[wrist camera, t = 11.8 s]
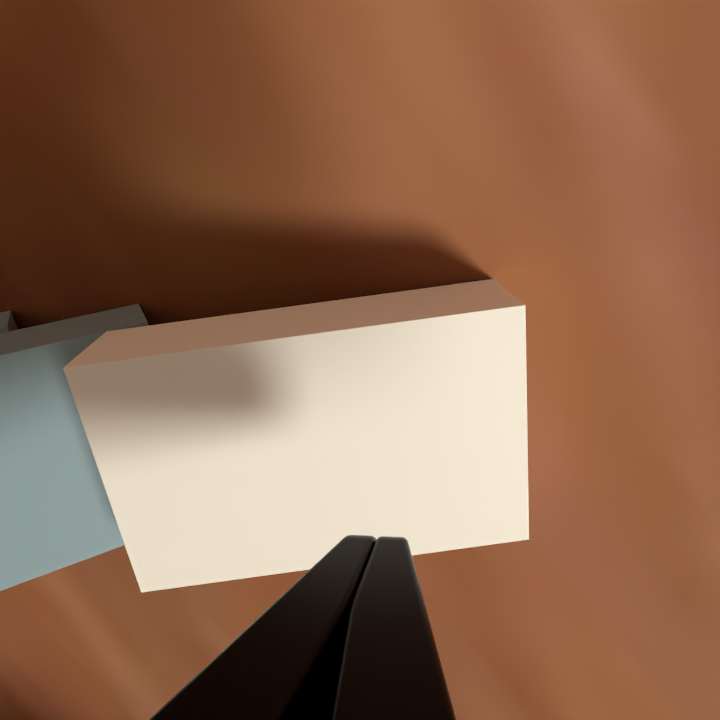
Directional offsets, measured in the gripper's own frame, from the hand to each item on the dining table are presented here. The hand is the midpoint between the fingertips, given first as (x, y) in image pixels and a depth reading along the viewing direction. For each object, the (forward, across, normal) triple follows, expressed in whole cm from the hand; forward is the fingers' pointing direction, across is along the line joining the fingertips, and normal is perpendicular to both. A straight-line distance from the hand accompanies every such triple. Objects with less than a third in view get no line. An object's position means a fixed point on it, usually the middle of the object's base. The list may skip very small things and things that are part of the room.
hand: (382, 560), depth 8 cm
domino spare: (+5, -2, 0) cm, 5 cm away
